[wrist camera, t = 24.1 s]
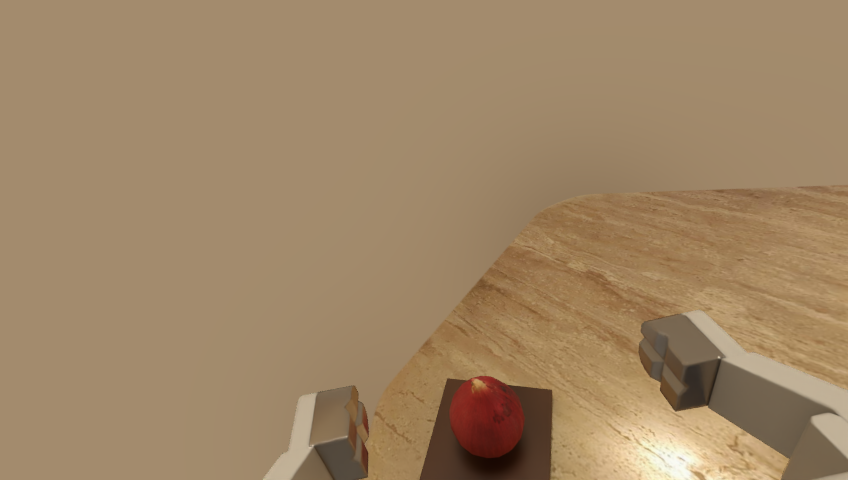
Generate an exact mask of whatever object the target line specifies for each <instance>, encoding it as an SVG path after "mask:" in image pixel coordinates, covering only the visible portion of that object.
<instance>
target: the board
mask: <svg viewBox="0 0 848 480" xmlns="http://www.w3.org/2000/svg"><path fill="white" fill-rule="evenodd" d="M465 382H466V380H457V379H447V382H446V385H445V389H444V393H443V396H442V400H441V404H440V407H439V411H438V415H437V418H436V422H435V426H434V429H433V433H432V436H431V440H430V444H429V447H428V451H427V455H426V458H425V462H424V466H423V469H422V473H421V477H420V480H550V468H551V430H552V390H548V389H539V388H530V387H521V386H512V385H507V386H509V387H510V388H511V389H512V390H513V391H514V392H515V393H516V394H517V396H518V397H519V400H520V403H521V406H522V410H523V413H524V417H525V421H524V427H523V431H522V436H521V439H520V440H519V441H518V443H517V444H516V445H515V446H514V448H513V449H512V450H511V451H509V452H508V453H506V454H504V455H502V456H500V457H496V458H485V457H480V456H476V455H472V454H471V453H470V452H469V451H467V450H466V449H465V448H463V447H462V446H461V445H460V443H459V441H458V440H457V438H456V436H455V435H454V433H453V431H452V429H451V424H450V416H449V410H450V406H451V402H452V398H453V396H454V394H455V393H456V391H457V390H458V389H459V387H460V386H461V385H462V384H463V383H465Z"/></svg>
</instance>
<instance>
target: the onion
mask: <svg viewBox="0 0 848 480" xmlns="http://www.w3.org/2000/svg"><path fill="white" fill-rule="evenodd" d="M449 416H450V424H451V429H452V431H453V433H454V435H455V436H456V438H457V440H458V441H459V443H460V445H461V446H462V447H463V448H465V449H466V450H467V451H469V452H470V453H471V454H472V455H476V456H480V457H485V458H496V457H500V456H502V455H504V454H506V453H508V452H509V451H511V450H512V449H513V448H514V446H515V445H516V444H517V443H518V441H519V440H520V439H521V436H522V431H523V427H524V421H525V417H524V413H523V410H522V406H521V403H520V400H519V397H518V396H517V394H516V393H515V392H514V391H513V390H512V389H511V388H510V387H509V386H507V385H506V384H505V383H502V382H501V381H499V380H497V379H495V378H493V377H489V376H479V377H475V378H471V379H470V380H468V381H466V382H465V383H463V384H462V385H461V386H460V387H459V389H458V390H457V391H456V393H455V394H454V396H453V398H452V402H451V406H450V410H449Z"/></svg>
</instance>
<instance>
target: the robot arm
mask: <svg viewBox="0 0 848 480" xmlns="http://www.w3.org/2000/svg"><path fill="white" fill-rule="evenodd" d="M641 333H642V334H643V336H644V338H643V340H642V341H641V342H640V343H639V356H640V360H641V363H642V365H643V367H644V369H645V370H646V372H647V373H648V375H649V376H650V377H651V378H653V379H655V380H657V381H659V382H661V385H660V391H661V393H662V394H663V395H664V397H665V398H666V399H667V401H668V402H669V403H670V405H671V406H672V408H673V409H674V410H675V412H676V411H681V410H687V409H692V408H698V407H703V406H708V408H710V409H711V410H713V411H715V412H716V413H718V414H719V415H721V416H722V417H724V418H726V419H727V420H729V421H730V422H732V423H733V424H735V425H737V426H738V427H740V428H741V429H743V430H745V431H746V432H748V433H749V434H751V435H752V436H754V437H756V438H757V439H759V440H760V441H762V442H764V443H765V444H767V445H768V446H770V447H771V448H773V449H775V450H776V451H778V452H779V453H781V454H782V455H784V456H786V457H787V458H789V461H788V463H787V465H786V467H785V469H784V471H783V473H782V478H781V480H848V390H846V389H844V388H841V387H839V386H836V385H834V384H831V383H829V382H826V381H824V380H821V379H819V378H817V377H814V376H812V375H809V374H807V373H804V372H802V371H799V370H797V369H794V368H792V367H790V366H787V365H785V364H782V363H780V362H777V361H775V360H772V359H770V358H767V357H765V356H763V355H760V354H758V353H755V352H750V353H748V352H746V351H745V350H744V349H743V348H742V347H741V346H740V345H739V344H738V343H737V342H736V341H735V340H734V339H733V338H732V337H731V336H729V335H728V334H727V333H726V332H725V331H724V330H723V329H722V328H721V327H720V326H719V325H718V324H717V323H716V322H715V321H714V320H713V319H711V318H710V317H709V316H708V315H707V314H706V313H705V312H704V311H701V310H695V311H690V312H686V313H681V314H675V315H671V316H667V317H662V318H658V319H654V320H649V321H645V322H644V323H643V324H642V325H641ZM368 437H369V428H368V419H367V414H366V410H365V407H364V405H363V403H362V402H359V401H358V391H357V389H356V387H355V386H348V387H343V388H337V389H333V390H327V391H322V392H317V393H312V394H307V395H303V396H301V397H300V398H299V400H298V403H297V408H296V413H295V418H294V423H293V428H292V433H291V438H290V443H289V448H288V452H286V453H282V455H281V456H280V457H279V458H278V460H277V461H276V462H275V464H274V465H273V466H272V468H271V469H270V470H269V471H268V473H267V474H266V476H265V477H264V478H263V479H262V480H359V479H363V478H367V477H368V451H367V449H366V447H365V445H364V444H365V442H366V441H367V439H368Z"/></svg>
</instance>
